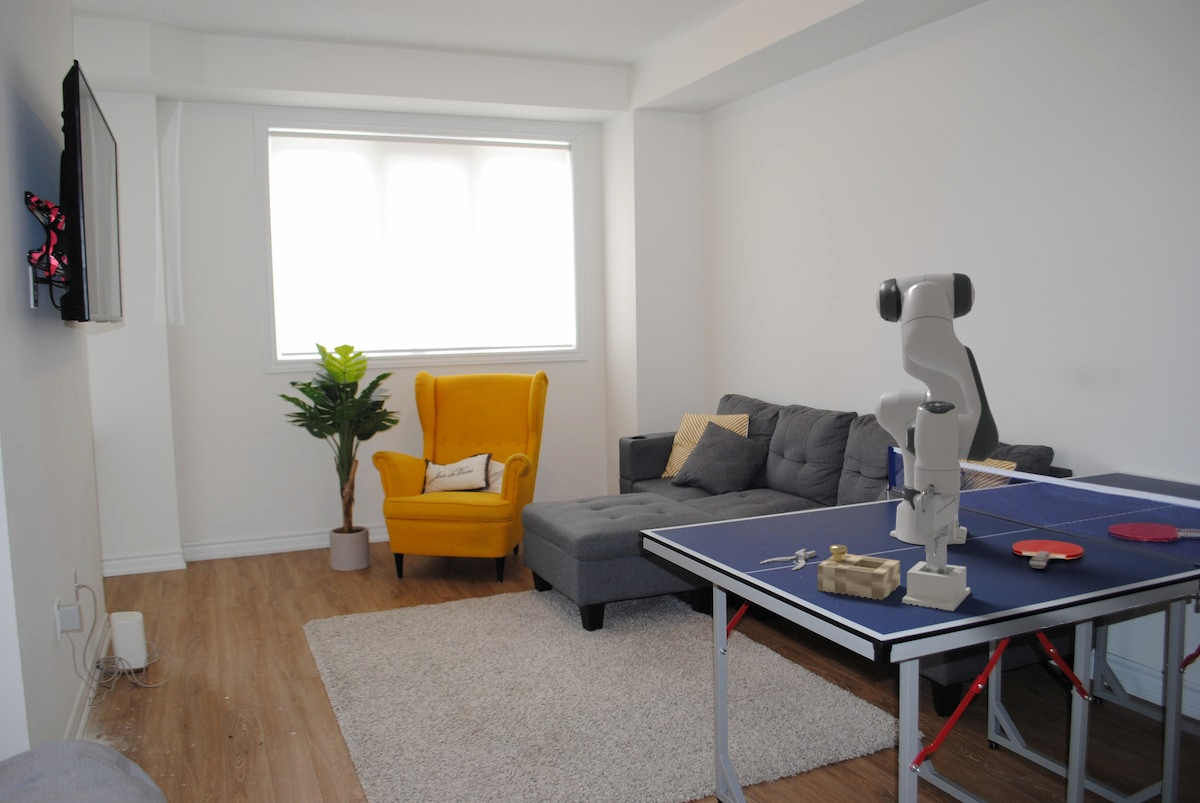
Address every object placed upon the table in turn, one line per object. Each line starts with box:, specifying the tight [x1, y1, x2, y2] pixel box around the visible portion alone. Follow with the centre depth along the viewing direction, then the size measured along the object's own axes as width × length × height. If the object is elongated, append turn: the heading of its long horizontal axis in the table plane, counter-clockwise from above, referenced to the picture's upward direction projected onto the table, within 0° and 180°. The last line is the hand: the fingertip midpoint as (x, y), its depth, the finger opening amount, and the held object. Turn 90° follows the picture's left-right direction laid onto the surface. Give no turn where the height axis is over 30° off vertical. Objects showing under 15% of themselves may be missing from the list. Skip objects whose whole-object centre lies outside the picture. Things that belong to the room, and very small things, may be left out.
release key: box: [829, 544, 848, 562], centre depth 198 cm, size 4×4×8 cm
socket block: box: [816, 553, 901, 601], centre depth 196 cm, size 12×14×6 cm
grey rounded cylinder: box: [925, 534, 948, 575], centre depth 187 cm, size 4×4×12 cm
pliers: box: [758, 548, 817, 571], centre depth 219 cm, size 10×2×15 cm
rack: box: [901, 560, 971, 612], centre depth 187 cm, size 14×10×6 cm
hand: (936, 547), depth 187 cm, fingers open, 8 cm apart
